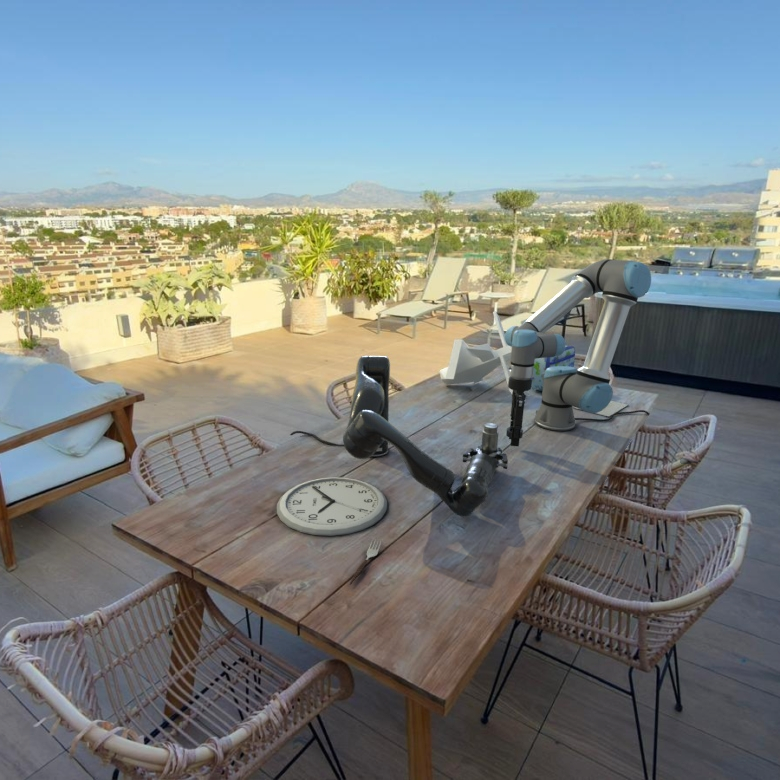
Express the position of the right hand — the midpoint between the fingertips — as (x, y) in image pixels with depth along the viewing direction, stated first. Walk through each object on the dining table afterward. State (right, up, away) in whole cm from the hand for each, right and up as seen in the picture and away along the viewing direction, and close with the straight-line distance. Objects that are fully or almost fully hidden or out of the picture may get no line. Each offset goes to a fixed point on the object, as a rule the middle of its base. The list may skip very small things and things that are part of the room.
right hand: (513, 442), depth 179 cm
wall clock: (-58, -14, -36) cm, 70 cm away
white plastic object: (-1, +17, +64) cm, 66 cm away
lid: (0, +4, -1) cm, 4 cm away
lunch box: (+35, +18, +72) cm, 82 cm away
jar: (-12, -8, -14) cm, 20 cm away
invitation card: (+49, +11, +47) cm, 69 cm away
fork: (-48, -22, -61) cm, 81 cm away
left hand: (-11, -1, -14) cm, 17 cm away
